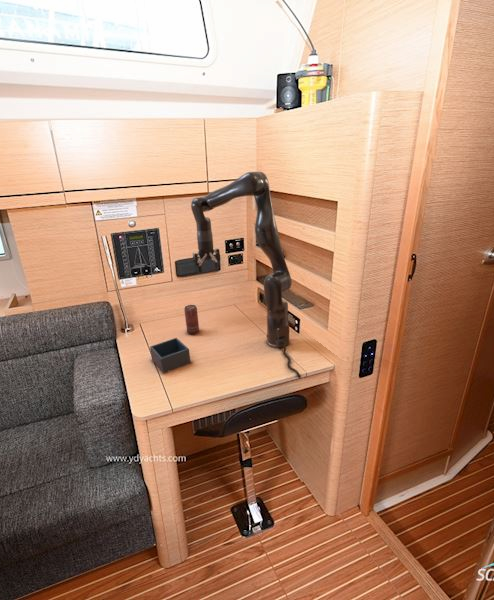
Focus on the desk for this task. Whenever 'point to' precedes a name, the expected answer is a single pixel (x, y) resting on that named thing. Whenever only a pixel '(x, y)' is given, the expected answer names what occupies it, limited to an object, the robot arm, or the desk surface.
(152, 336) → the desk surface
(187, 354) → the bin
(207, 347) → the desk surface
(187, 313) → the can
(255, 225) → the robot arm
